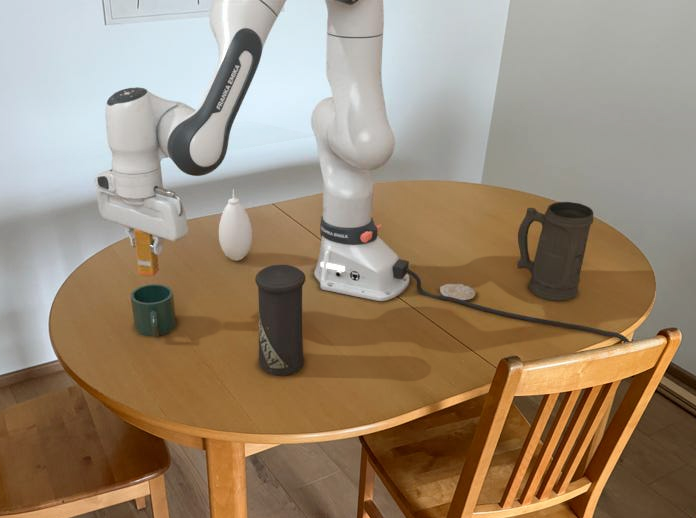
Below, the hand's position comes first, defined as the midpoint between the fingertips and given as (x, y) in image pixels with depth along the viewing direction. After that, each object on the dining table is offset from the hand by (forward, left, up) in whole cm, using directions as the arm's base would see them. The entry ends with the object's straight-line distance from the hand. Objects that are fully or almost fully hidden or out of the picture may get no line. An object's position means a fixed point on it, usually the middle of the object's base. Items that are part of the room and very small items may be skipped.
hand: (146, 249), depth 140 cm
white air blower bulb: (+5, -34, -17) cm, 38 cm away
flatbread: (-47, -48, -17) cm, 69 cm away
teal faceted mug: (-1, +2, -17) cm, 17 cm away
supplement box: (0, 0, -5) cm, 5 cm away
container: (-30, -3, -17) cm, 35 cm away
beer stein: (-62, -62, -17) cm, 89 cm away
